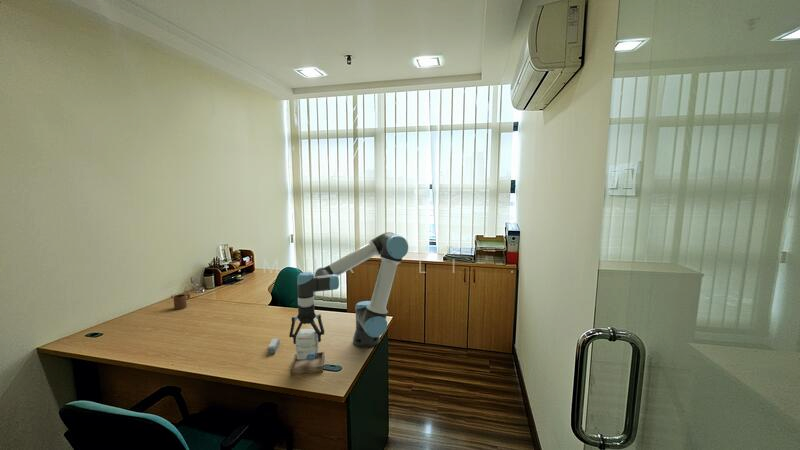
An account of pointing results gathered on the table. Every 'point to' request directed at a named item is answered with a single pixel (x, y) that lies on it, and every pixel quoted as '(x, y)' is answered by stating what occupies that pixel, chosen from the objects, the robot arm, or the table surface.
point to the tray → (308, 365)
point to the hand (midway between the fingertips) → (307, 349)
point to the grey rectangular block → (273, 346)
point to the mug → (181, 301)
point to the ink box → (306, 344)
